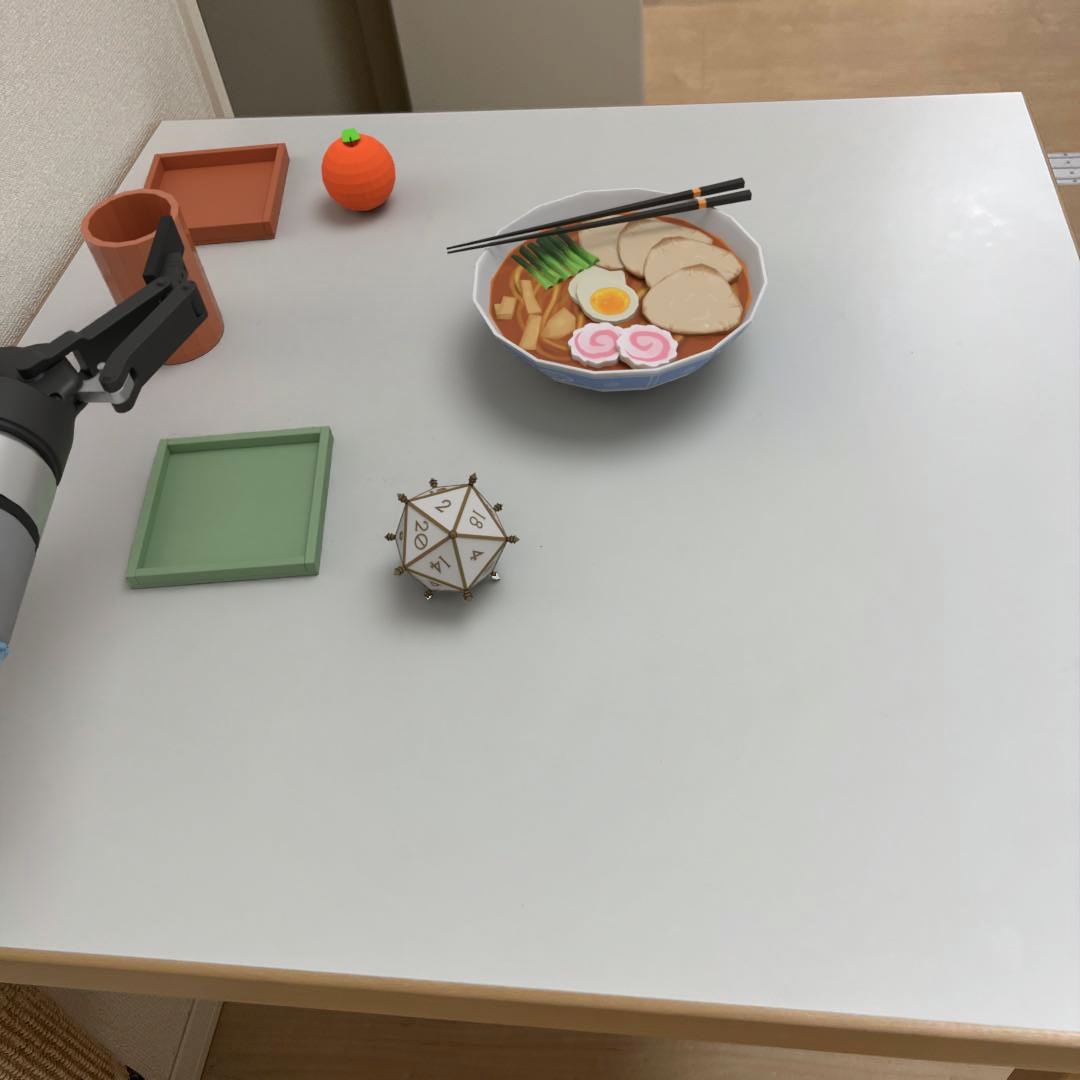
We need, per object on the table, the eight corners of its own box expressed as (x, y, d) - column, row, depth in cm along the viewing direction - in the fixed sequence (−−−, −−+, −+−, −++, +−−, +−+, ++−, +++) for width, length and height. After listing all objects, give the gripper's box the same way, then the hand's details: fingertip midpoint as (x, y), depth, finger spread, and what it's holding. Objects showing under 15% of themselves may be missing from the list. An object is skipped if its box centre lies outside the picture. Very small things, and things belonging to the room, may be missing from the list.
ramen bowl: (494, 474, 80) (481, 395, 74) (450, 287, 94) (436, 207, 88) (814, 411, 82) (829, 328, 75) (723, 236, 96) (729, 155, 90)
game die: (481, 620, 76) (492, 625, 66) (369, 579, 76) (362, 578, 66) (524, 504, 77) (541, 491, 67) (413, 462, 76) (413, 443, 66)
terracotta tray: (135, 250, 101) (127, 233, 100) (160, 170, 110) (154, 154, 108) (274, 238, 101) (269, 221, 99) (289, 159, 109) (285, 142, 108)
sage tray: (131, 588, 76) (124, 577, 75) (165, 451, 84) (159, 439, 83) (318, 574, 75) (313, 562, 74) (333, 437, 84) (329, 425, 83)
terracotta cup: (122, 360, 91) (63, 242, 82) (160, 303, 96) (108, 185, 87) (202, 368, 90) (152, 250, 81) (237, 310, 94) (193, 191, 85)
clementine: (324, 186, 106) (306, 120, 100) (392, 172, 106) (379, 105, 101) (336, 232, 101) (318, 165, 95) (407, 216, 101) (394, 148, 96)
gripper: (-186, 526, 64) (-72, 300, 77) (226, 492, 63) (269, 269, 76) (-269, 439, 58) (-131, 210, 71) (183, 400, 57) (238, 176, 70)
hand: (76, 240), depth 74 cm, fingers open, 13 cm apart
